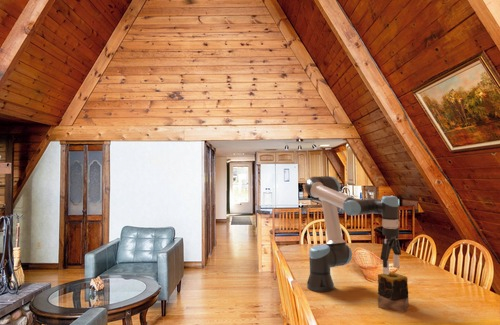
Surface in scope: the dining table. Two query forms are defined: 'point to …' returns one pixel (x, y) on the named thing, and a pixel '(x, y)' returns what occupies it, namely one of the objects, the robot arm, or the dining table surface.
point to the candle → (392, 286)
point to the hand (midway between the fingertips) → (391, 270)
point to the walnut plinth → (393, 304)
